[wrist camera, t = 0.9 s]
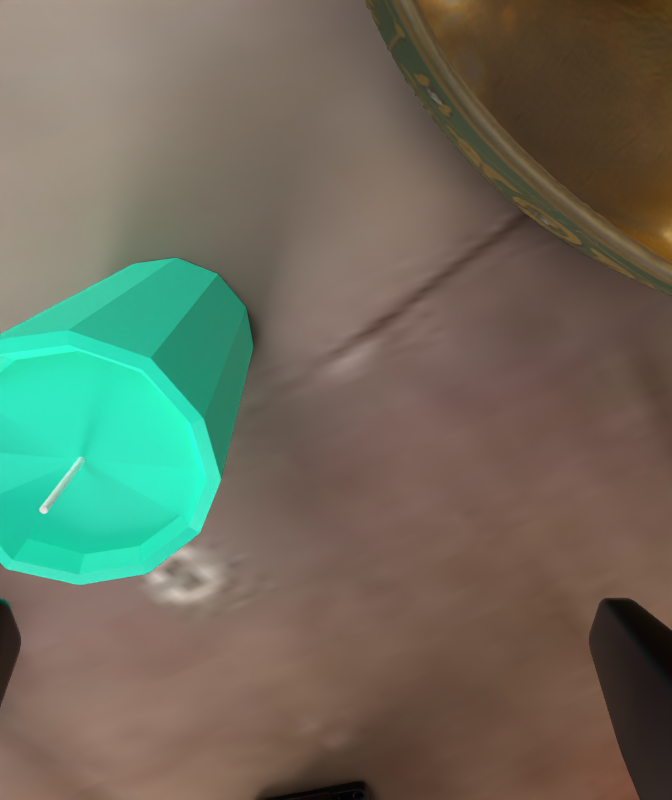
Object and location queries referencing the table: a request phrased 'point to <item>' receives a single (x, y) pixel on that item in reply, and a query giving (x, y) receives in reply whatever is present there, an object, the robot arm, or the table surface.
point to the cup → (555, 112)
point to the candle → (118, 421)
